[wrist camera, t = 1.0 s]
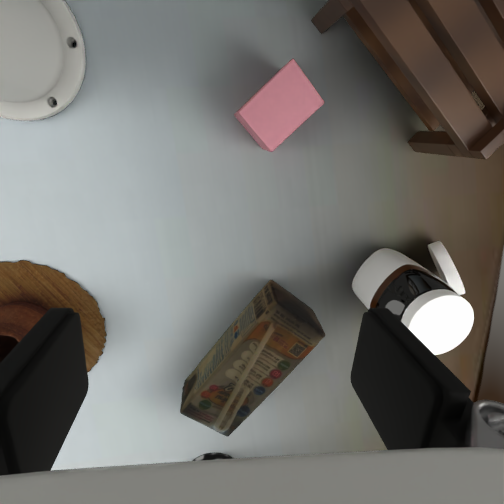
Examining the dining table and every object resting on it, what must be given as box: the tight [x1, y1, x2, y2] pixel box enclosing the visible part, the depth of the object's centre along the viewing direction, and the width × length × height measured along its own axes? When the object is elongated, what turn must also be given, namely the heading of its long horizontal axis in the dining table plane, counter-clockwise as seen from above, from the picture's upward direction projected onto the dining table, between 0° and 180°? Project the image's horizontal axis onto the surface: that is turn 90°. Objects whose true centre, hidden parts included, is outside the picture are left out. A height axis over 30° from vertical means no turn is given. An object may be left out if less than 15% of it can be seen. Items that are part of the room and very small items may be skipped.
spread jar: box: [352, 241, 474, 355], centre depth 37 cm, size 12×11×12 cm
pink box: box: [234, 59, 324, 152], centre depth 32 cm, size 5×6×6 cm
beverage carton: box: [180, 280, 325, 436], centre depth 41 cm, size 8×19×7 cm, turn 141°
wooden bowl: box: [0, 260, 106, 372], centre depth 36 cm, size 18×18×7 cm
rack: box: [311, 0, 504, 159], centre depth 29 cm, size 18×14×10 cm
